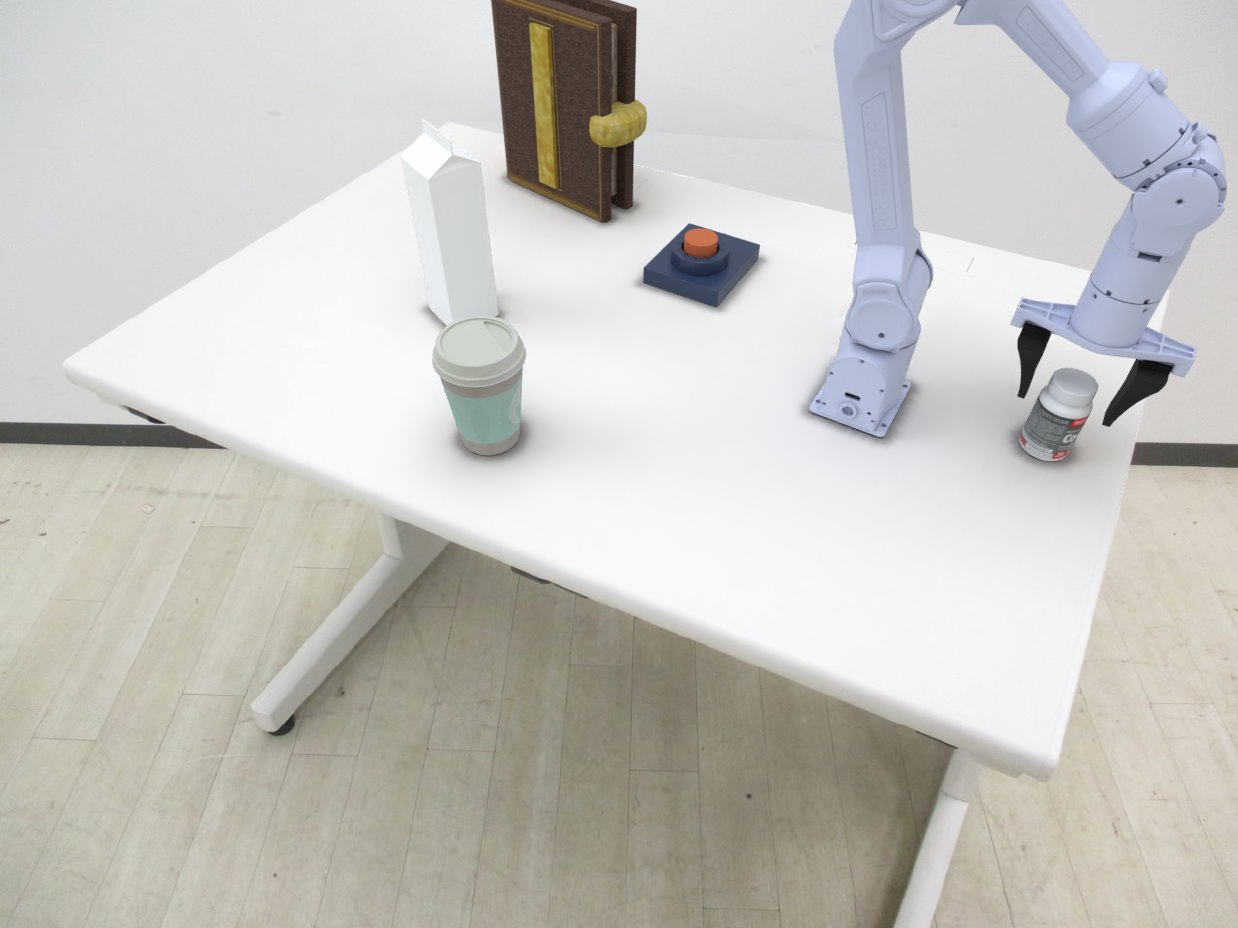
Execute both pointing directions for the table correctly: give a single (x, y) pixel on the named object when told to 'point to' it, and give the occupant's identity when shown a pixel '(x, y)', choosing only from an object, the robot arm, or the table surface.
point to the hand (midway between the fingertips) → (1064, 405)
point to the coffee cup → (482, 380)
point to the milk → (450, 226)
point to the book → (570, 100)
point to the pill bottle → (1059, 414)
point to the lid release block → (701, 268)
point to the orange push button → (700, 242)
